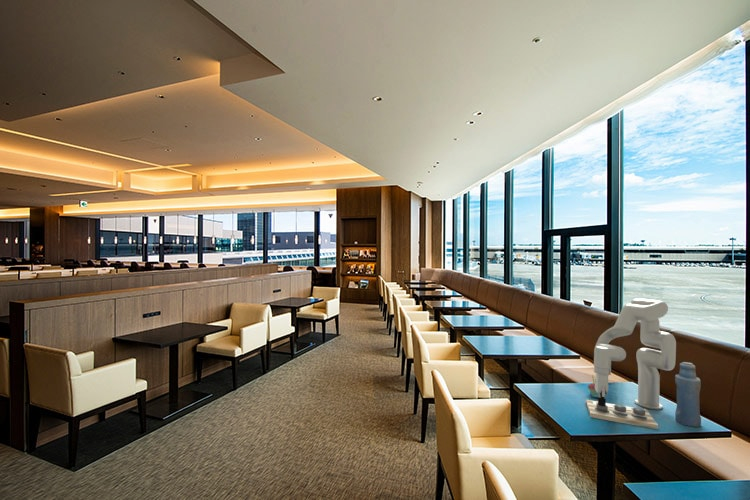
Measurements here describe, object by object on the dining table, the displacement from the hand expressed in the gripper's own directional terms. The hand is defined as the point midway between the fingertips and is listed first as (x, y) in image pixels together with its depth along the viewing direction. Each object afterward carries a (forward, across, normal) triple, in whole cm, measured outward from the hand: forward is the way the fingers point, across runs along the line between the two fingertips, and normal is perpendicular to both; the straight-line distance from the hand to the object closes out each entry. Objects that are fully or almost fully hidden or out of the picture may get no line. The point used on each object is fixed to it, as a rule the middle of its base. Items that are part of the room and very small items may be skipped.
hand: (601, 405), depth 187 cm
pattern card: (+3, -9, +8) cm, 13 cm away
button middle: (+1, 0, +8) cm, 8 cm away
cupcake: (+5, -29, +1) cm, 30 cm away
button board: (+4, -3, +8) cm, 10 cm away
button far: (+2, 0, 0) cm, 2 cm away
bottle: (+5, -9, +38) cm, 40 cm away
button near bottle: (+1, 0, +16) cm, 16 cm away
